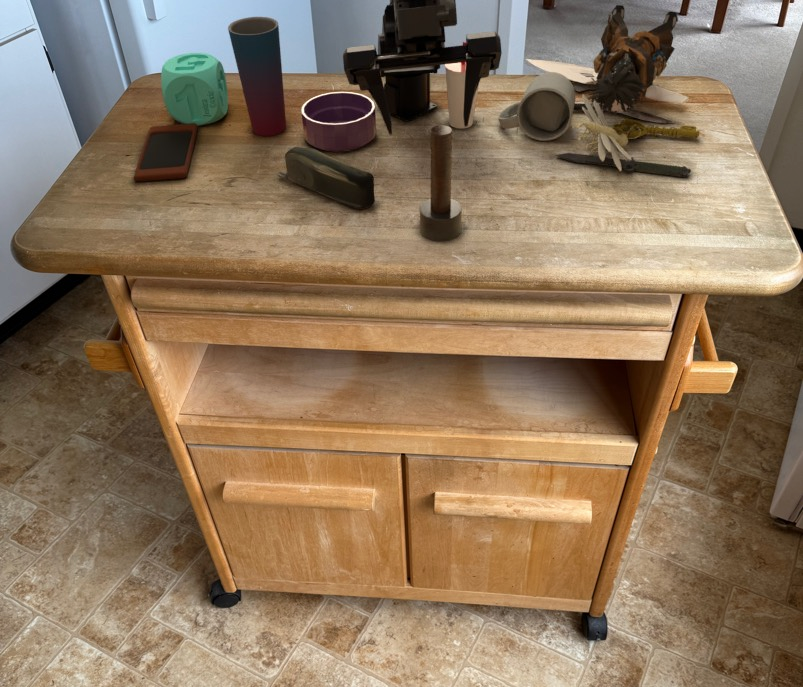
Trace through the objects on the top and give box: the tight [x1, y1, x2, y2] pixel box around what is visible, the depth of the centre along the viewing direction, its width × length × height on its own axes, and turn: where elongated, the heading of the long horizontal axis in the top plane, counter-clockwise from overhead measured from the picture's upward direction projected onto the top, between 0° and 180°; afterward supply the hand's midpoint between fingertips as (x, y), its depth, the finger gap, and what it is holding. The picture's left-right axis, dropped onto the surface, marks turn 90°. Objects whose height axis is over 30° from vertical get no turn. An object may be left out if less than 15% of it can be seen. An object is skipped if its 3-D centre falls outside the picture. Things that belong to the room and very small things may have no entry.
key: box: [611, 118, 700, 140], centre depth 107 cm, size 12×1×5 cm
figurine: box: [586, 4, 679, 116], centre depth 110 cm, size 11×13×30 cm
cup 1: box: [227, 16, 287, 137], centre depth 108 cm, size 7×7×15 cm
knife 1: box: [525, 58, 690, 106], centre depth 119 cm, size 6×28×1 cm, turn 51°
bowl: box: [300, 91, 377, 153], centre depth 109 cm, size 10×10×4 cm
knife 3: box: [554, 152, 692, 178], centre depth 101 cm, size 18×1×3 cm
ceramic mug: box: [497, 71, 576, 142], centre depth 108 cm, size 11×8×8 cm
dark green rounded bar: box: [277, 146, 376, 210], centre depth 97 cm, size 5×3×15 cm
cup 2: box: [443, 41, 480, 129], centre depth 108 cm, size 5×5×12 cm
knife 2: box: [573, 102, 676, 124], centre depth 112 cm, size 18×1×5 cm
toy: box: [572, 94, 641, 172], centre depth 103 cm, size 15×9×5 cm, turn 8°
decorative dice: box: [160, 52, 229, 127], centre depth 114 cm, size 8×8×8 cm
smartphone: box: [133, 123, 199, 182], centre depth 107 cm, size 7×1×15 cm
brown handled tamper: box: [419, 124, 463, 242], centre depth 87 cm, size 5×5×13 cm
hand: (428, 129), depth 92 cm, fingers open, 9 cm apart
